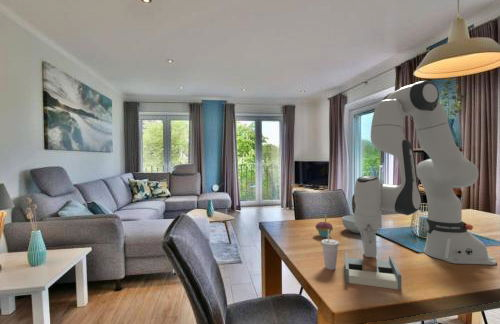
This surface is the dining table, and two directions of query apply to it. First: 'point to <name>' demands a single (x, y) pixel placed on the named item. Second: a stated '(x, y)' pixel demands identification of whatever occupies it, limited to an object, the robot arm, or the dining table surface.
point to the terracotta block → (369, 263)
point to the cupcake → (324, 228)
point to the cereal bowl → (350, 223)
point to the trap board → (373, 273)
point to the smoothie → (330, 252)
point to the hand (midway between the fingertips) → (368, 260)
